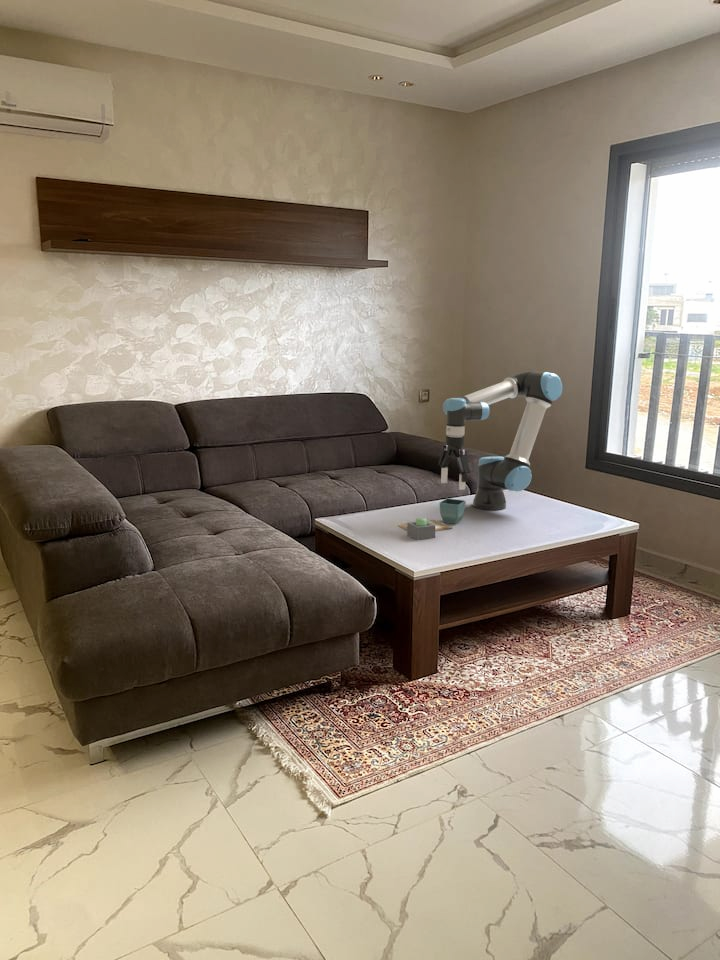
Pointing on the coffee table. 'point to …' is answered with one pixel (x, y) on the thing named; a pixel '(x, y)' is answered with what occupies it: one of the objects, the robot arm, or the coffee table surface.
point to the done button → (421, 521)
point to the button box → (420, 531)
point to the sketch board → (437, 524)
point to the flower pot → (452, 510)
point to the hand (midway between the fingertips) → (452, 486)
